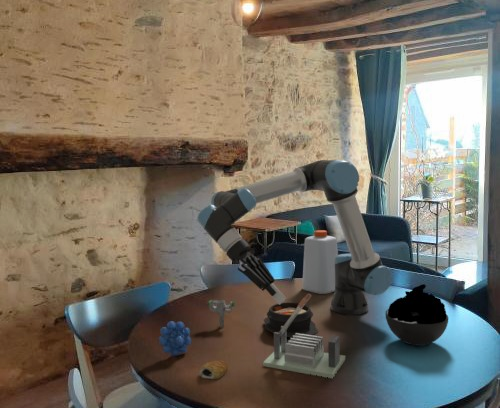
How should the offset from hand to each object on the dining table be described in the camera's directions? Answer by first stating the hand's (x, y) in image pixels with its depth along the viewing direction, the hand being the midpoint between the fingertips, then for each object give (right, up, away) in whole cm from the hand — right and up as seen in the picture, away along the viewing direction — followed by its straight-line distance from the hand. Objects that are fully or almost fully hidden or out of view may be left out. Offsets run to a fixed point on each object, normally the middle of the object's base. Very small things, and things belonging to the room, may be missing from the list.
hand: (283, 301), depth 152 cm
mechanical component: (-21, -16, +32) cm, 42 cm away
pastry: (-21, -21, -6) cm, 30 cm away
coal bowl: (+46, -17, +12) cm, 50 cm away
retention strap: (+4, -5, -1) cm, 6 cm away
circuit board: (+7, -19, -1) cm, 20 cm away
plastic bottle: (+23, -10, +79) cm, 83 cm away
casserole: (+5, -16, +27) cm, 32 cm away
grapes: (-34, -19, +6) cm, 40 cm away
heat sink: (+7, -18, -1) cm, 19 cm away
